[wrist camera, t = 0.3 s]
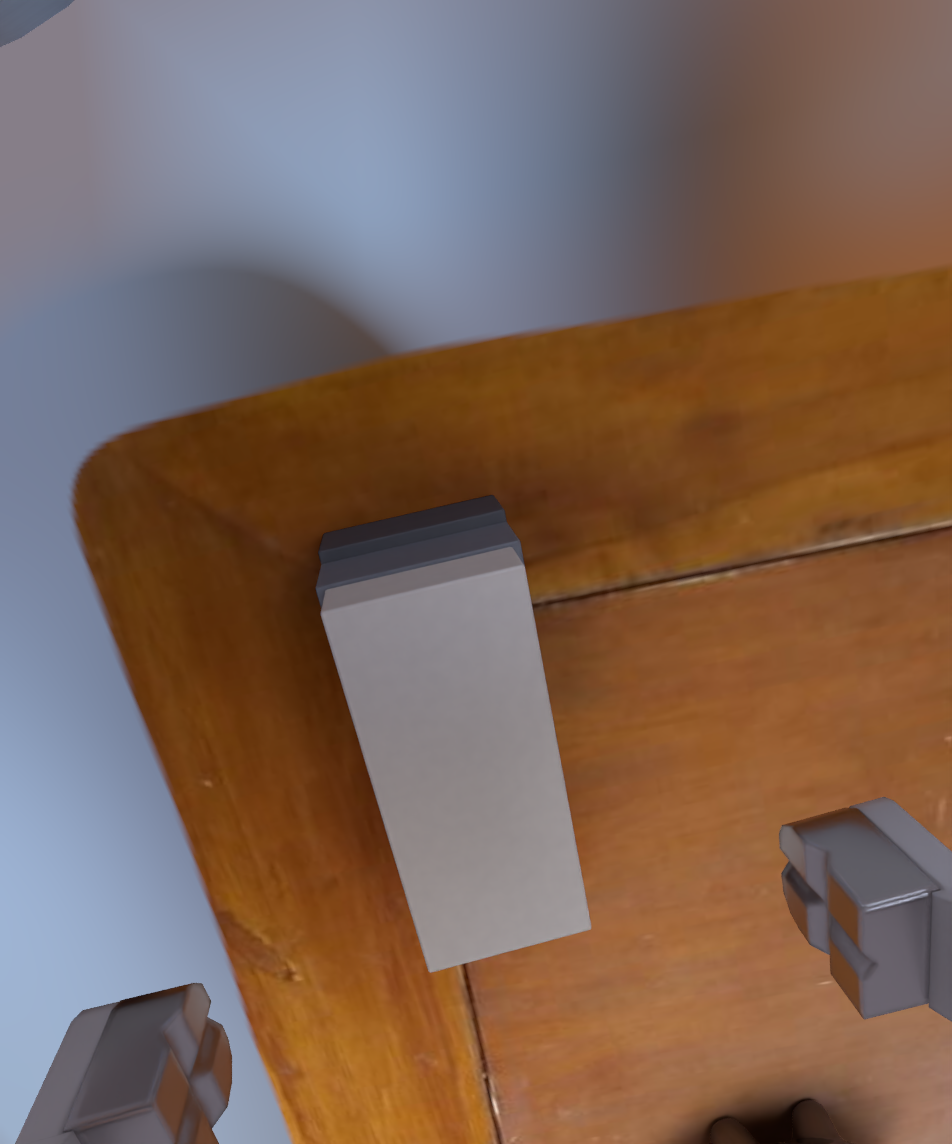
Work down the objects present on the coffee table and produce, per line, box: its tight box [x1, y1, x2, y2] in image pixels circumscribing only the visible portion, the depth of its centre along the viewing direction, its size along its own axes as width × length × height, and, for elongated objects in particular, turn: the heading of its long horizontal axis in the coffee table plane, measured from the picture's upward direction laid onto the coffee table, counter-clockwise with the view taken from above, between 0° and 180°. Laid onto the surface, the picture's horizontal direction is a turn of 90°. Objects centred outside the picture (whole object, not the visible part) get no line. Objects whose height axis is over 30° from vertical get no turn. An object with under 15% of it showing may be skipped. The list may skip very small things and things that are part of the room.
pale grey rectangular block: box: [321, 547, 591, 972], centre depth 21 cm, size 13×6×2 cm, turn 11°
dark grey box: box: [316, 495, 586, 895], centre depth 24 cm, size 14×6×4 cm, turn 11°
